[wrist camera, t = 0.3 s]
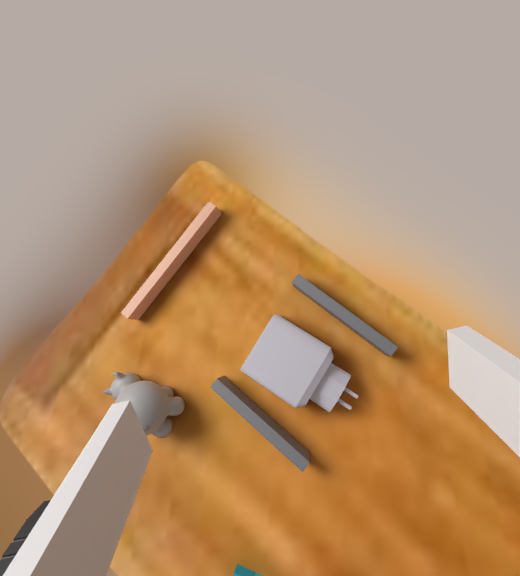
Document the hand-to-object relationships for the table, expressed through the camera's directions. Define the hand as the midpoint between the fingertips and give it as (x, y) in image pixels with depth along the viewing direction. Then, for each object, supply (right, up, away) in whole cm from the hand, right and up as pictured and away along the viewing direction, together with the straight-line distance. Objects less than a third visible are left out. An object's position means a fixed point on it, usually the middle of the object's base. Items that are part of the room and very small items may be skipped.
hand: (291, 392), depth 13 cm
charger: (+5, -8, +32) cm, 33 cm away
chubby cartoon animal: (-18, -12, +35) cm, 41 cm away
